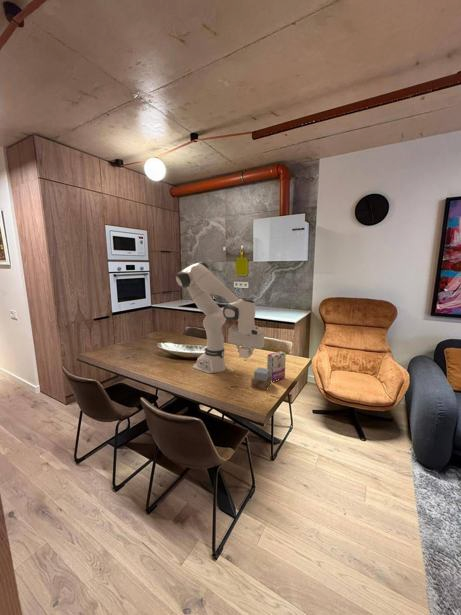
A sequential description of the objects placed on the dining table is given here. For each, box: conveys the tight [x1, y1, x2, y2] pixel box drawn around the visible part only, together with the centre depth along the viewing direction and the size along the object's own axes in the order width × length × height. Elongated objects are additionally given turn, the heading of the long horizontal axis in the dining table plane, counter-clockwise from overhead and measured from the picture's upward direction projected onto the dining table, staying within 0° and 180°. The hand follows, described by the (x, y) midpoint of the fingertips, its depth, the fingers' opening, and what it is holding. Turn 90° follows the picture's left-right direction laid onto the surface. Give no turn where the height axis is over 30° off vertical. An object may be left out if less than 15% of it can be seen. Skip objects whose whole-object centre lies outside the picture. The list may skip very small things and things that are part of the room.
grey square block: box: [253, 367, 270, 381], centre depth 149 cm, size 7×7×4 cm
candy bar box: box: [266, 350, 287, 383], centre depth 157 cm, size 11×5×16 cm, turn 126°
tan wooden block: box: [250, 376, 272, 391], centre depth 149 cm, size 9×9×5 cm
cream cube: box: [238, 345, 252, 360], centre depth 139 cm, size 5×5×5 cm
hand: (245, 353), depth 139 cm, fingers closed on cream cube, 5 cm apart
